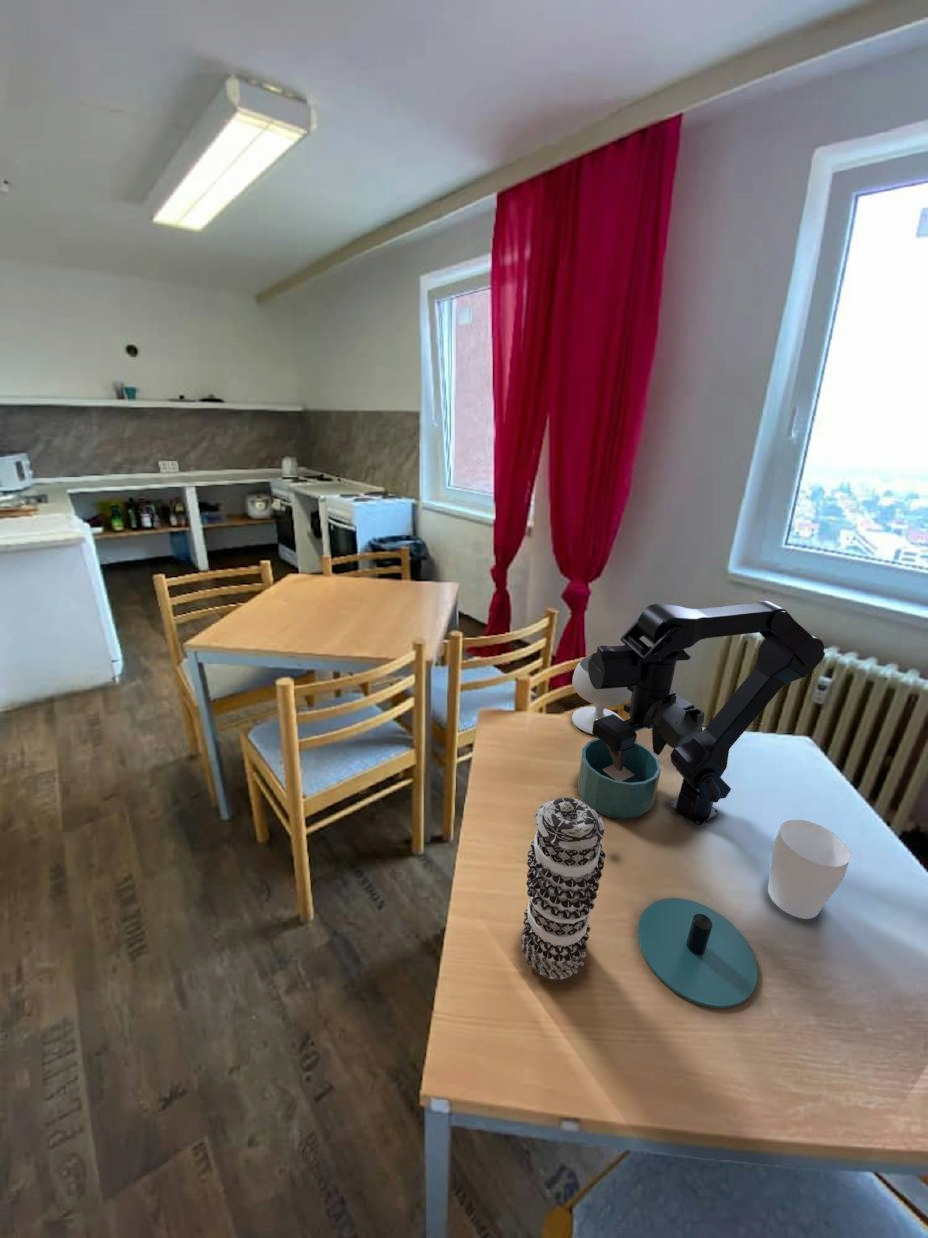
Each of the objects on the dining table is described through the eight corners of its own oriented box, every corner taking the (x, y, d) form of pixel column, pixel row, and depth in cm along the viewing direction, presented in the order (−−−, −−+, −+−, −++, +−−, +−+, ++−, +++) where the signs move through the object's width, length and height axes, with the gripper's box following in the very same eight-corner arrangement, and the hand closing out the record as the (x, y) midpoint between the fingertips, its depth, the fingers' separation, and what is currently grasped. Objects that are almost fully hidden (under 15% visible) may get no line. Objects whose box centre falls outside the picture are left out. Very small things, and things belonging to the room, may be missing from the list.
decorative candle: (598, 983, 67) (625, 837, 58) (529, 995, 66) (546, 847, 56) (572, 919, 76) (593, 782, 66) (511, 929, 74) (523, 790, 64)
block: (614, 780, 103) (617, 762, 102) (631, 793, 100) (635, 774, 98) (598, 787, 101) (601, 769, 100) (615, 801, 98) (619, 782, 96)
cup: (817, 886, 82) (840, 828, 77) (834, 937, 74) (861, 875, 69) (754, 869, 85) (773, 812, 80) (764, 917, 77) (785, 857, 72)
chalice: (613, 747, 114) (622, 688, 108) (557, 724, 122) (563, 667, 116) (637, 720, 124) (647, 664, 118) (584, 700, 132) (591, 647, 126)
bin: (612, 760, 110) (617, 728, 107) (669, 801, 99) (676, 767, 96) (562, 784, 103) (566, 750, 100) (617, 830, 92) (624, 795, 89)
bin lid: (681, 887, 81) (688, 858, 79) (778, 970, 70) (790, 939, 67) (613, 935, 74) (619, 904, 71) (710, 1037, 62) (721, 1005, 60)
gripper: (651, 723, 73) (634, 810, 79) (734, 691, 81) (713, 771, 87) (595, 687, 82) (584, 767, 88) (676, 662, 90) (660, 737, 96)
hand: (637, 761), depth 90 cm, fingers open, 9 cm apart
